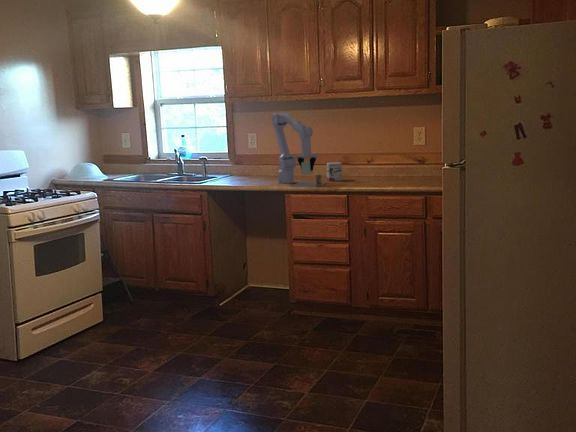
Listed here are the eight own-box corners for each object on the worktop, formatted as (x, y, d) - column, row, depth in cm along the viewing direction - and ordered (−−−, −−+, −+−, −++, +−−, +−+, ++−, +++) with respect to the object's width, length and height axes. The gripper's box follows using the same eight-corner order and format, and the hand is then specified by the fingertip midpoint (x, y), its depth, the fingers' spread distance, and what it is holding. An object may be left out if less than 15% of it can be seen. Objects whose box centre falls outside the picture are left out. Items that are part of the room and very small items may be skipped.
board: (288, 187, 389) (288, 186, 389) (300, 183, 408) (300, 182, 407) (317, 188, 383) (317, 186, 383) (327, 183, 401) (327, 182, 401)
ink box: (329, 182, 405) (328, 163, 403) (326, 181, 409) (326, 162, 407) (342, 181, 406) (341, 162, 404) (340, 180, 411) (339, 161, 409)
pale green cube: (301, 173, 390) (301, 162, 389) (304, 172, 395) (304, 161, 394) (309, 173, 388) (309, 162, 387) (312, 172, 393) (312, 161, 392)
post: (316, 183, 397) (316, 175, 396) (317, 182, 400) (317, 174, 399) (320, 183, 396) (320, 175, 395) (321, 182, 399) (321, 174, 398)
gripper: (292, 148, 388) (293, 171, 391) (315, 148, 383) (316, 171, 385) (296, 147, 395) (297, 169, 397) (319, 147, 389) (320, 169, 392)
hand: (307, 170), depth 392 cm, fingers closed on pale green cube, 5 cm apart
